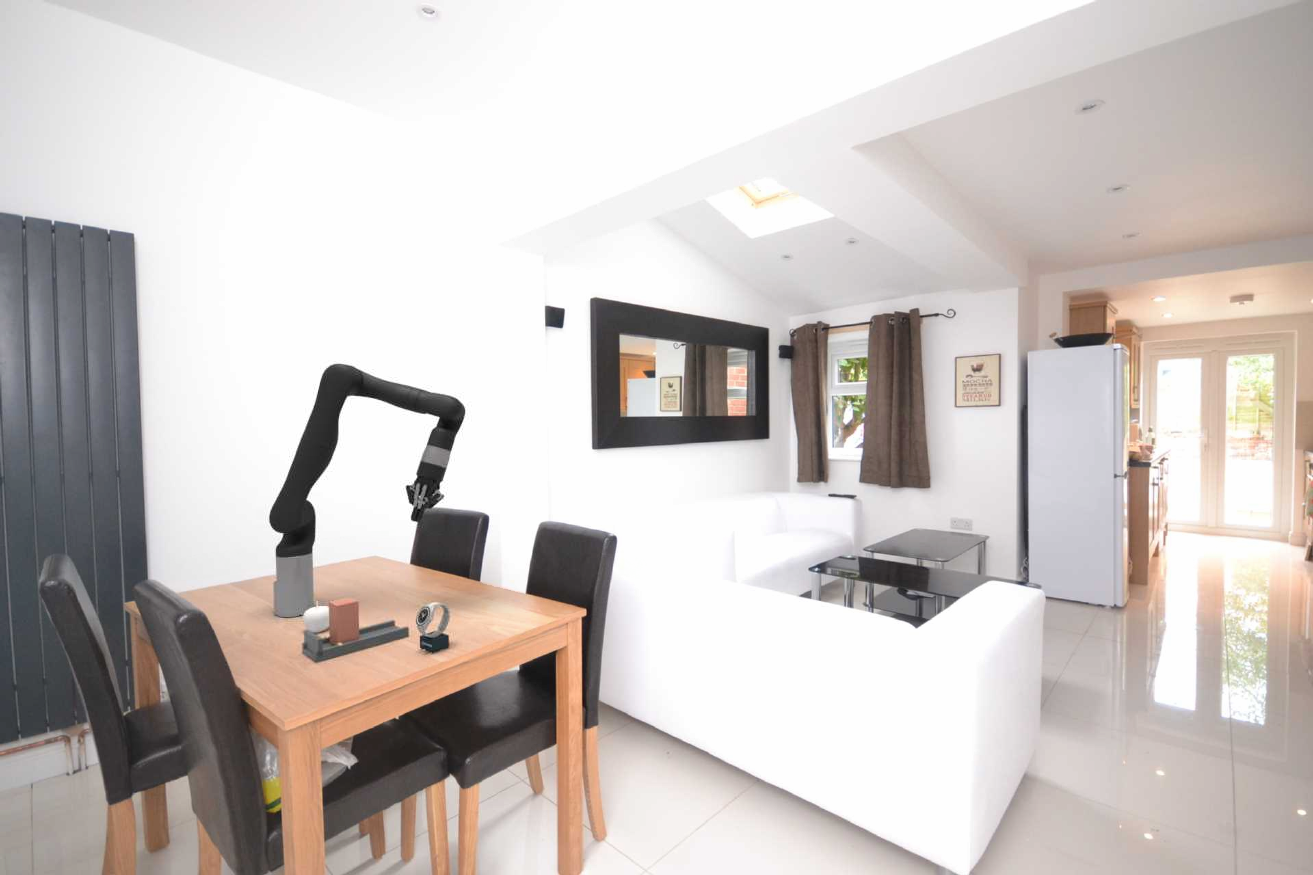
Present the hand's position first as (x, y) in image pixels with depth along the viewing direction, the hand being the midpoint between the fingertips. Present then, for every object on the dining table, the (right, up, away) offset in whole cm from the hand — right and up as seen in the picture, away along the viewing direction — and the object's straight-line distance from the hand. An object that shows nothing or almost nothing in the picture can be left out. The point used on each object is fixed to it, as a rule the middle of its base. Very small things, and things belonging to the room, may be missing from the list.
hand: (415, 521), depth 171 cm
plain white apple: (-21, -28, -11) cm, 37 cm away
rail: (-6, -28, -23) cm, 36 cm away
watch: (+15, -28, -25) cm, 40 cm away
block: (-8, -26, -24) cm, 36 cm away
